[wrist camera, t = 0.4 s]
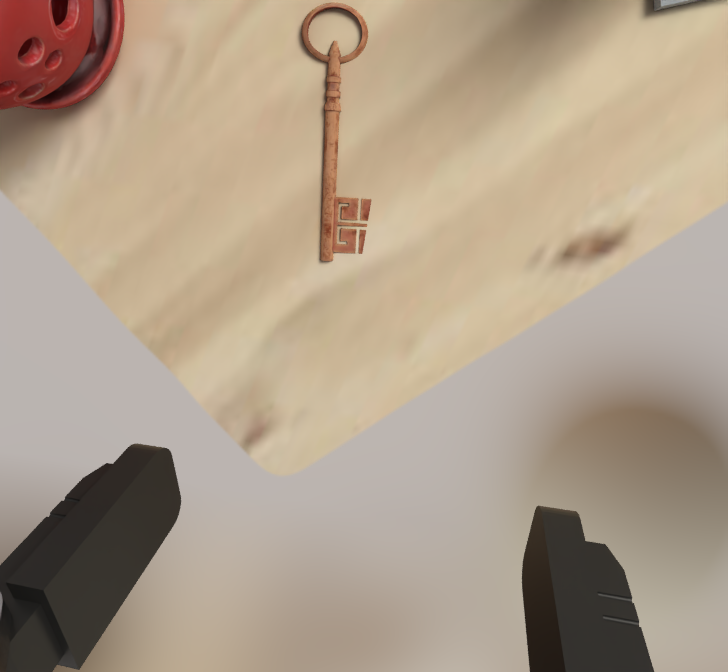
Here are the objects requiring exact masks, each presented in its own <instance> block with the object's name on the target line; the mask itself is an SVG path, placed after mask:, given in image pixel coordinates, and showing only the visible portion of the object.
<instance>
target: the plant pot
mask: <svg viewBox="0 0 728 672" xmlns="http://www.w3.org/2000/svg"><path fill="white" fill-rule="evenodd" d="M123 31H124V5H123V0H0V110H1V109H8V108H12V107H17V106H25V107H29V108H35V109H58V108H63V107H67V106H70V105H73V104H75V103H77V102H79V101H81V100H83V99H85V98H86V97H88V96H89V95H90V94H92V93H93V92H94V91H95V90H96V89H98V88H99V86H100V85H101V84H102V83H103V82H104V80H105V79H106V78H107V76H108V75H109V73H110V71H111V70H112V67H113V65H114V63H115V61H116V59H117V56H118V54H119V50H120V47H121V43H122V39H123Z"/></svg>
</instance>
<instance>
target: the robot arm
mask: <svg viewBox="0 0 728 672" xmlns="http://www.w3.org/2000/svg"><path fill="white" fill-rule="evenodd" d="M180 505H181V495H180V491H179V486H178V481H177V477H176V472H175V467H174V463H173V459H172V455H171V452H170V451H169V449H167V448H162V447H156V446H149V445H142V444H133V445H131V446H130V447H128V448H127V449H126V450H125V451H124V452H123V454H122V455H121V456H120V457H119V458H118V459H117V460H116V461H115V462H114V464H108V463H106V464H105V465H103V466H101V467H100V468H99V469H97V470H95V471H94V472H92V473H90V474H89V475H87V476H86V477H84V478H83V479H82V480H81V481H80V482H79V483H78V484H77V485H76V486H75V487H74V488H73V489H72V490H71V491H70V493H69V494H67V496H66V497H65V500H64V501H61V502H60V503H59V504H58V505H57V506H56V507H55V508H54V509H53V510H52V511H51V513H50V516H49V517H46V518H45V519H44V520H43V521H42V522H41V523H40V524H39V525H38V526H37V527H36V528H35V529H34V530H33V531H32V532H31V533H30V534H29V536H28V537H27V538H26V539H25V540H24V541H23V542H22V543H21V544H20V545H19V546H18V547H17V548H16V549H15V550H14V551H13V552H12V553H11V554H10V556H9V557H8V558H7V559H6V560H5V561H4V562H3V563H2V564H1V565H0V672H52V671H53V670H54V668H55V667H56V665H61V666H66V667H70V668H74V669H78V670H79V669H80V668H81V666H82V665H83V663H84V662H85V660H86V658H87V657H88V655H89V654H90V652H91V651H92V649H93V648H94V646H95V645H96V643H97V642H98V640H99V639H100V637H101V636H102V634H103V633H104V631H105V630H106V628H107V626H108V625H109V623H110V622H111V620H112V619H113V617H114V616H115V614H116V613H117V611H118V610H119V608H120V606H121V605H122V604H123V602H124V601H125V599H126V597H127V596H128V594H129V593H130V591H131V590H132V588H133V587H134V585H135V584H136V582H137V581H138V579H139V578H140V576H141V575H142V573H143V572H144V570H145V568H146V567H147V565H148V564H149V562H150V561H151V559H152V558H153V556H154V555H155V553H156V552H157V550H158V549H159V547H160V545H161V544H162V543H163V541H164V539H165V538H166V536H167V535H168V533H169V532H170V530H171V529H172V527H173V525H174V524H175V522H176V520H177V517H178V515H179V511H180ZM522 589H523V601H524V611H525V623H526V634H527V645H528V656H529V666H530V672H654V670H653V667H652V663H651V660H650V656H649V653H648V649H647V646H646V643H645V639H644V636H643V633H642V629H641V627H639V619H638V616H637V612H636V609H635V606H634V603H632V596H631V592H630V589H629V585H628V582H627V579H626V575H625V572H624V569H623V568H622V567H621V565H620V564H619V562H618V561H617V560H616V558H615V557H614V556H613V554H612V553H611V551H610V550H609V549H608V547H607V546H606V545H605V544H600V543H593V542H587V541H585V537H584V533H583V529H582V524H581V520H580V517H579V514H578V513H577V512H576V511H570V510H563V509H556V508H550V507H543V506H537V507H536V510H535V513H534V517H533V521H532V525H531V529H530V533H529V538H528V541H527V545H526V549H525V554H524V559H523V569H522Z"/></svg>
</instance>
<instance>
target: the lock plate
mask: <svg viewBox="0 0 728 672" xmlns="http://www.w3.org/2000/svg"><path fill="white" fill-rule="evenodd" d="M696 1H700V0H654V11H655V10H660V9H664V8H669V7H673V6H678V5H682V4H687V3H691V2H696Z"/></svg>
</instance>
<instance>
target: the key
mask: <svg viewBox="0 0 728 672" xmlns="http://www.w3.org/2000/svg"><path fill="white" fill-rule="evenodd" d="M331 8H340V9H344V10H346V11H349V12H350V13H352V14H353V15H355V16H356V17H357V18H358V20H359V21H360V24H361V26H362V40H361V43H360V45H359V46H358V48H357V49H356V50H355V51H354V52H352V53H351V54H349V55H346V56H344V57H341V55H340V51H339V48H338V44H337V41H333V44H332V47H331V50H330V52H329V56H326V55H323V54H321V53H320V52H318V51H317V50H316V49H315V48H314V47H313V46H312V45H311V43H310V41H309V38H308V29H309V25H310V23H311V21H312V19H313V18H314V17H315V16H316V15H317V14H318V13H320V12H322V11H324V10H327V9H331ZM302 37H303V41H304V43H305V46H306V47H307V49H308V50H309V51H310V52H311V53H312V54H313V55H314V56H315V57H317V58H318V59H320V60H323V61H325V62H328V76H327V83H328V87H327V91H326V97H327V102H326V103H325V108H324V110H326V115H325V144H324V173H323V202H322V230H321V259H320V260H322V261H333V252H343V253H355V247H356V229H342V228H341V238H340V241H347V244H337V225H347V226H362V227H367V224H359V223H345V222H338V207H339V202H341V203H349V206H342V217H341V219H351V220H357V213H358V199H357V198H343V197H336V176H337V153H338V130H339V111H341V108H340V103H339V98H340V92H339V83H341V78H340V63H344V62H348V61H350V60H353V59H354V58H356V57H357V56H358V55H359V54H360V53H361V52H362V51H363V49H364V48H365V46H366V43H367V39H368V29H367V25H366V23H365V21H364V19H363V17H362V16H361V15H360V14H359V13H358V12H357V11H356V10H355V9H353V8H352V7H350V6H347V5H345V4H341V3H326V4H323V5H320V6H318V7H316V8H315V9H313V10H312V11H311V12H310V13H309V14H308V15H307V17H306V18H305V20H304V23H303V26H302ZM370 205H371V199H362V205H361V220H366V221H368V217H369V211H370ZM365 234H366V230H360V238H359V254H362V252H363V246H364V240H365Z"/></svg>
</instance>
